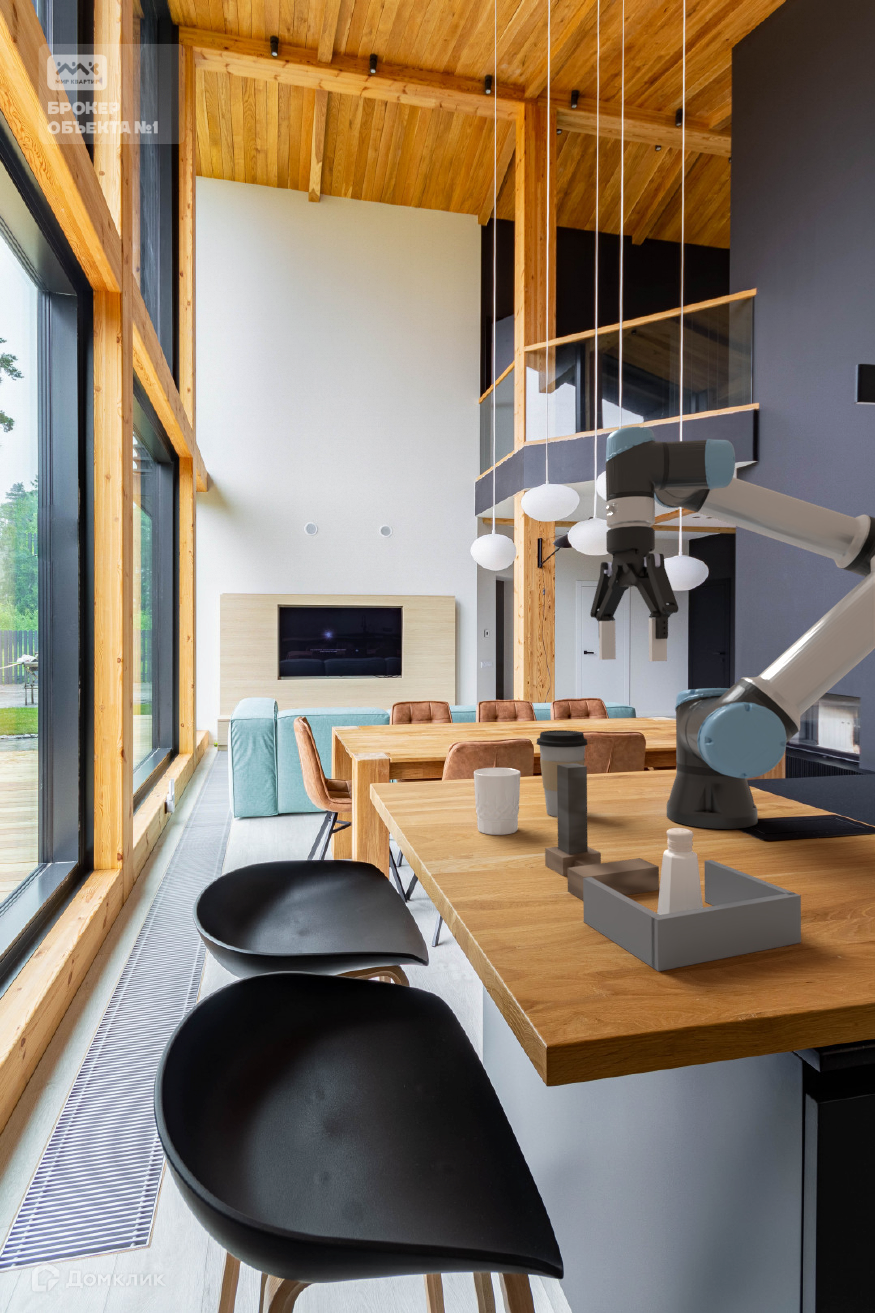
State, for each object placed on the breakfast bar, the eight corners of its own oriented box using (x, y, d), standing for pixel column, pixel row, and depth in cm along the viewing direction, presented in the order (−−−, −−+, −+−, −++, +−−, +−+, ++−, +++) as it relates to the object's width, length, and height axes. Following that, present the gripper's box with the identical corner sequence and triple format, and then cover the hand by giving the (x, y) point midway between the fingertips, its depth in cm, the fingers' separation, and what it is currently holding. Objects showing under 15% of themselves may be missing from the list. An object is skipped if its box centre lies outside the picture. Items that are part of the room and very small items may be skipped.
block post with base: (596, 858, 107) (595, 760, 106) (659, 890, 93) (658, 777, 93) (529, 867, 103) (528, 765, 103) (584, 901, 89) (583, 783, 89)
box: (711, 900, 89) (711, 859, 89) (800, 942, 76) (800, 895, 76) (583, 921, 83) (583, 878, 83) (658, 971, 70) (657, 920, 70)
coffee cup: (588, 820, 129) (587, 736, 129) (535, 818, 131) (534, 735, 131) (588, 808, 139) (587, 730, 138) (538, 807, 140) (537, 729, 140)
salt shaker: (691, 944, 77) (691, 839, 76) (645, 929, 80) (645, 830, 80) (715, 929, 80) (714, 830, 80) (670, 916, 84) (669, 821, 84)
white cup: (471, 825, 127) (470, 768, 127) (516, 823, 128) (515, 767, 128) (477, 837, 119) (477, 776, 119) (525, 835, 120) (524, 775, 120)
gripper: (569, 537, 127) (570, 659, 128) (659, 513, 104) (660, 662, 104) (606, 539, 130) (607, 658, 130) (702, 516, 106) (703, 661, 107)
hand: (631, 660), depth 117 cm, fingers open, 13 cm apart
